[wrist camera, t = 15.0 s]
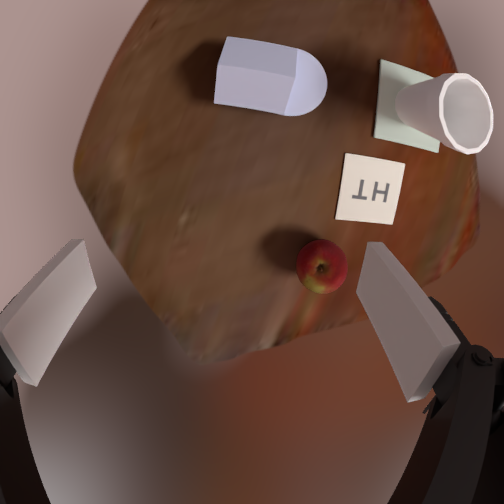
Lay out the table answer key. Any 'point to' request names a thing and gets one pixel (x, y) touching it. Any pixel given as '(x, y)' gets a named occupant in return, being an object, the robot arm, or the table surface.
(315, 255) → the apple
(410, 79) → the sage mat
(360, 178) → the cream card
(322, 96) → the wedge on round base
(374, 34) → the table surface
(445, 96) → the foam cup
